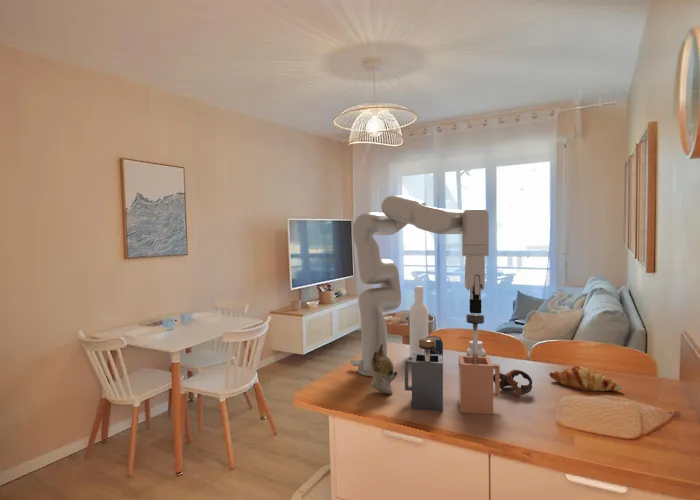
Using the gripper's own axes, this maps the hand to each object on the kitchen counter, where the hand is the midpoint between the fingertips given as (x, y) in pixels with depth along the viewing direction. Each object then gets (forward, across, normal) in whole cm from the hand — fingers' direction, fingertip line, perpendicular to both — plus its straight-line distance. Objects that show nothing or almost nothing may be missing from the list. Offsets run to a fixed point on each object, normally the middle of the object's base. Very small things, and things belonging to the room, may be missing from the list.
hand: (475, 312), depth 122 cm
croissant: (+29, -24, +38) cm, 53 cm away
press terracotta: (+28, 0, +1) cm, 28 cm away
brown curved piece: (+29, -14, +13) cm, 35 cm away
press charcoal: (+28, 0, -15) cm, 32 cm away
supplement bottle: (+28, -27, +3) cm, 39 cm away
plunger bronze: (+27, 0, -14) cm, 31 cm away
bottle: (+28, -49, -18) cm, 60 cm away
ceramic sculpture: (+28, -6, -28) cm, 40 cm away
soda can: (+28, -34, -12) cm, 46 cm away
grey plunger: (+19, 0, 0) cm, 19 cm away
